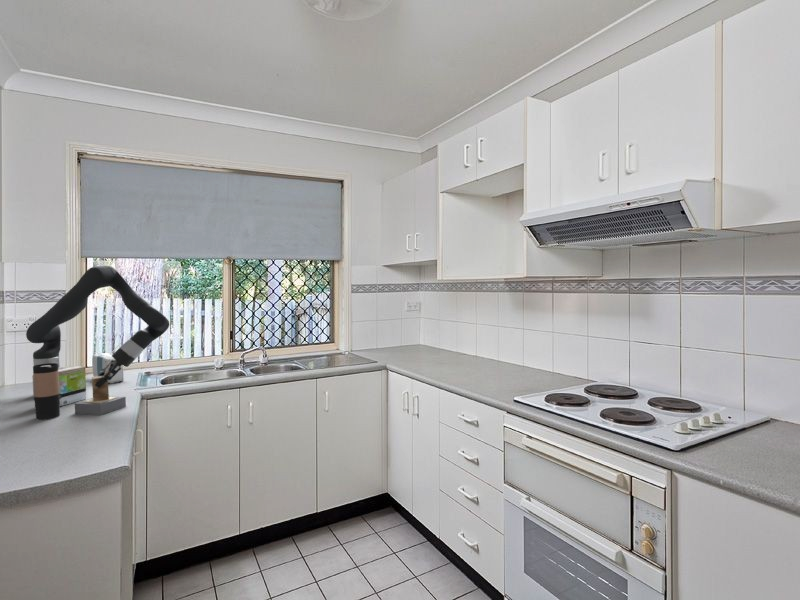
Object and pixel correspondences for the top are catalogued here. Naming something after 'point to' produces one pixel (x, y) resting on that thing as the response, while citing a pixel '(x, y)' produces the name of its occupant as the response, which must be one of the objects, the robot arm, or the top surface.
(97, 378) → the walnut block
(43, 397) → the travel mug
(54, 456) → the top surface
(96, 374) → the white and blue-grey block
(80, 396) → the tea box
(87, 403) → the base
